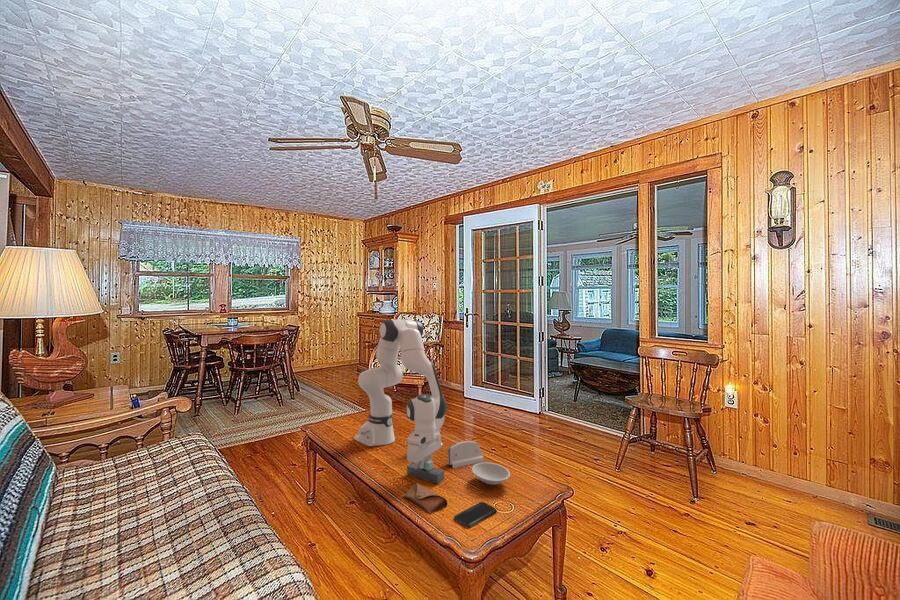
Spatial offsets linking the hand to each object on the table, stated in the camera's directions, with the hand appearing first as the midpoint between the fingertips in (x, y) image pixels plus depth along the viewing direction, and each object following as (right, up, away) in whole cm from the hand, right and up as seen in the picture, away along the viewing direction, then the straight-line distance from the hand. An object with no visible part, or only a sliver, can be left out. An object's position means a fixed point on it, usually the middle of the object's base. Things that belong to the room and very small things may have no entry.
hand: (425, 465), depth 169 cm
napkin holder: (+17, -5, +15) cm, 24 cm away
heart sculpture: (+1, -4, +34) cm, 34 cm away
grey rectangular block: (0, -5, 0) cm, 5 cm away
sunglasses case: (0, -6, -20) cm, 20 cm away
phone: (+19, -6, -29) cm, 35 cm away
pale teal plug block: (0, -4, 0) cm, 4 cm away
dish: (+27, -5, -6) cm, 28 cm away
